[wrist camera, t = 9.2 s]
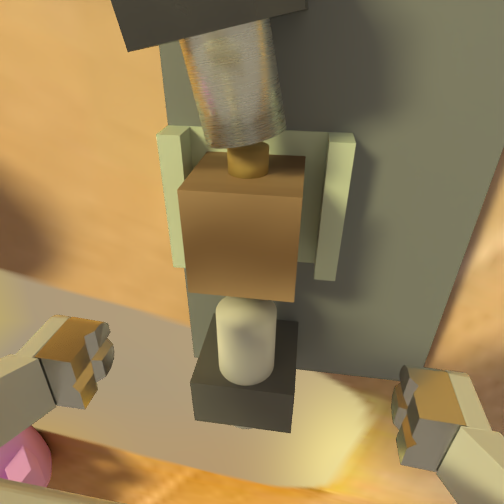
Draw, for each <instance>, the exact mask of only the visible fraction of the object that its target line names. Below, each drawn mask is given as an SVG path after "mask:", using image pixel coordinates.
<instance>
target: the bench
mask: <svg viewBox="0 0 504 504" xmlns="http://www.w3.org/2000/svg"><path fill="white" fill-rule="evenodd" d="M308 8H309V10H305V11H301V12H297V13H293V14H288V15H284V16H280V17H276V18H272V19H270V25H271V31H272V38H273V44H274V51H275V57H276V63H277V70H278V76H279V83H280V89H281V96H282V102H283V109H284V115H285V121H286V129H285V130H284V131H283V132H282V133H280V134H279V135H277V136H275V137H273V138H270V139H268V140H265V141H262V142H265V143H267V144H268V145H269V154H272V155H292V156H306V159H305V172H304V186H303V199H302V211H301V223H300V236H299V248H298V260H297V272H296V284H295V296H294V302H283V301H273V300H263V299H252V298H242V297H231V296H221V295H210V294H200V293H189V292H188V285H187V276H186V266H185V257H184V248H183V239H182V230H181V221H180V212H179V203H178V194H177V189H178V188H179V187H180V186H181V184H182V183H183V182H184V180H185V179H186V178H187V177H188V175H189V174H190V173H191V171H192V170H193V169H194V168H195V166H196V165H197V164H198V162H199V161H200V160H201V159H202V157H203V156H204V155H205V153H206V152H207V151H212V152H227V148H225V149H217V148H211V147H208V146H207V144H206V140H205V136H204V132H203V129H202V125H201V121H200V117H199V114H198V110H197V106H196V102H195V99H194V95H193V91H192V87H191V84H190V80H189V76H188V72H187V69H186V65H185V61H184V57H183V54H182V50H181V46H180V42H179V41H176V42H172V43H167V44H163V45H159V49H160V58H161V67H162V75H163V84H164V93H165V102H166V111H167V120H168V126H167V127H165V128H164V129H163V130H161V131H160V132H159V133H157V134H156V137H157V145H158V153H159V160H160V168H161V175H162V183H163V191H164V198H165V206H166V214H167V221H168V229H169V236H170V244H171V252H172V259H173V267H179V268H184V270H185V279H186V288H187V297H188V306H189V315H190V323H191V332H192V341H193V349H194V357H197V358H198V361H197V364H196V367H195V370H194V372H193V375H192V378H191V381H190V386H191V393H192V401H193V408H194V416H195V420H197V421H205V422H212V423H219V424H227V425H233V426H235V427H238V428H241V429H252V428H256V429H264V430H271V431H278V432H286V433H291V423H292V414H293V404H294V393H295V375H296V369H300V370H309V371H318V372H326V373H335V374H344V375H352V376H361V377H369V378H378V379H387V380H395V381H400V378H399V373H400V370H401V368H402V367H403V365H410V366H418V367H424V364H425V361H426V359H427V356H428V353H429V350H430V348H431V345H432V342H433V340H434V337H435V334H436V331H437V329H438V326H439V323H440V320H441V318H442V315H443V312H444V309H445V307H446V304H447V301H448V298H449V296H450V293H451V290H452V287H453V285H454V282H455V279H456V277H457V274H458V271H459V268H460V266H461V263H462V260H463V257H464V255H465V252H466V249H467V246H468V244H469V241H470V238H471V235H472V233H473V230H474V227H475V225H476V222H477V219H478V216H479V214H480V211H481V208H482V205H483V203H484V200H485V197H486V194H487V192H488V189H489V186H490V183H491V181H492V178H493V175H494V172H495V170H496V167H497V164H498V162H499V159H500V156H501V153H502V151H503V148H504V0H308Z"/></svg>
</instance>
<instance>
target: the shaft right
mask: <svg viewBox="0 0 504 504" xmlns="http://www.w3.org/2000/svg"><path fill="white" fill-rule="evenodd" d="M111 2H112V5H113V8H114V11H115V14H116V17H117V20H118V23H119V26H120V29H121V33H122V36H123V39H124V42H125V45H126V48H127V51H128V52H130V51H135V50H140V49H144V48H149V47H153V46H158V45H163V44H167V43H172V42H176V41H179V42H180V46H181V50H182V54H183V57H184V61H185V65H186V69H187V72H188V76H189V80H190V84H191V87H192V91H193V95H194V99H195V102H196V106H197V110H198V114H199V117H200V121H201V125H202V129H203V132H204V136H205V140H206V144H207V146H208V147H211V148H217V149H225V148H235V147H241V146H246V145H251V144H255V143H258V142H262V141H265V140H268V139H270V138H273V137H275V136H277V135H279V134H280V133H282V132H283V131H284V130H285V129H286V121H285V115H284V109H283V102H282V96H281V89H280V83H279V76H278V70H277V63H276V57H275V51H274V44H273V38H272V31H271V25H270V19H272V18H276V17H280V16H284V15H288V14H293V13H297V12H301V11H305V10H309V8H308V0H111Z"/></svg>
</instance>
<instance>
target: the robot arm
mask: <svg viewBox="0 0 504 504" xmlns="http://www.w3.org/2000/svg"><path fill="white" fill-rule="evenodd" d="M109 334H110V329H109V325H108V324H107V323H105V322H100V321H95V320H88V319H82V318H77V317H69V316H63V315H54V316H52V317H51V318H50V319H49V320H48V321H47V322H46V323H45V324H44V325H43V326H42V327H41V328H40V329H39V330H38V331H37V332H36V333H35V334H34V335H33V336H32V338H30V340H29V341H28V342H27V343H26V344H25V345H24V346H23V347H22V348H21V349H20V350H19V351H18V352H17V353H16V354H15V355H13V354H9V355H7V356H5V357H3V358H0V447H2V446H3V445H4V444H6V443H7V442H9V441H10V440H11V439H13V438H14V437H15V436H17V435H18V434H20V433H21V432H22V431H24V430H25V429H26V428H28V427H29V426H31V425H32V424H33V423H35V422H36V421H37V420H39V419H40V418H42V417H43V416H44V415H46V414H47V413H48V412H50V411H51V410H52V409H54V408H55V407H56V405H57V406H64V407H72V408H78V409H86V407H87V406H88V404H89V403H90V401H91V399H92V398H93V396H94V395H95V393H96V392H97V390H98V387H97V382H98V381H99V380H101V379H103V378H104V377H106V375H107V374H108V372H109V370H110V369H111V366H112V363H113V360H114V347H113V344H112V342H111V341H110V340H109V339H108V338H107V337H108V335H109ZM399 378H400V384H398V385H396V386H395V388H394V391H393V395H392V404H391V409H392V419H393V423H394V425H395V426H396V427H397V428H398V429H399V432H398V435H397V438H396V442H397V448H398V454H399V459H400V465H404V466H409V467H414V468H419V469H424V470H429V471H434V472H437V473H436V474H437V475H438V477H439V478H440V480H441V481H442V482H443V484H444V485H445V487H446V488H447V489H448V491H449V492H450V494H451V495H452V496H453V498H454V499H455V501H456V502H457V503H458V504H504V436H503V435H502V434H501V433H500V432H496V431H492V428H491V426H490V424H489V421H488V419H487V417H486V414H485V412H484V410H483V407H482V405H481V402H480V400H479V398H478V395H477V393H476V391H475V388H474V386H473V383H472V381H471V379H470V376H469V375H468V374H467V373H463V372H456V371H448V370H440V369H433V368H425V367H418V366H410V365H403V367H402V368H401V370H400V373H399ZM0 504H125V503H120V502H115V501H110V500H105V499H100V498H95V497H91V496H86V495H81V494H76V493H71V492H66V491H61V490H56V489H52V488H47V487H42V486H37V485H32V484H27V483H22V482H17V481H13V480H8V479H3V478H0Z"/></svg>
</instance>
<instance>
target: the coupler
mask: <svg viewBox="0 0 504 504" xmlns="http://www.w3.org/2000/svg"><path fill="white" fill-rule="evenodd" d="M305 159H306V156H292V155H272V154H269V145H268V144H267V143H265V142H258V143H255V144H251V145H246V146H241V147H235V148H227V152H212V151H207V152H206V153H205V155H204V156H203V157H202V159H201V160H200V161H199V162H198V164H197V165H196V166H195V168H194V169H193V170H192V171H191V173H190V174H189V175H188V177H187V178H186V179H185V180H184V182H183V183H182V184H181V186H180V187H179V188H178V189H177V194H178V203H179V212H180V221H181V230H182V239H183V248H184V257H185V266H186V276H187V285H188V292H189V293H200V294H210V295H221V296H231V297H242V298H252V299H263V300H273V301H283V302H294V296H295V284H296V272H297V260H298V248H299V236H300V223H301V211H302V199H303V186H304V172H305Z"/></svg>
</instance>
